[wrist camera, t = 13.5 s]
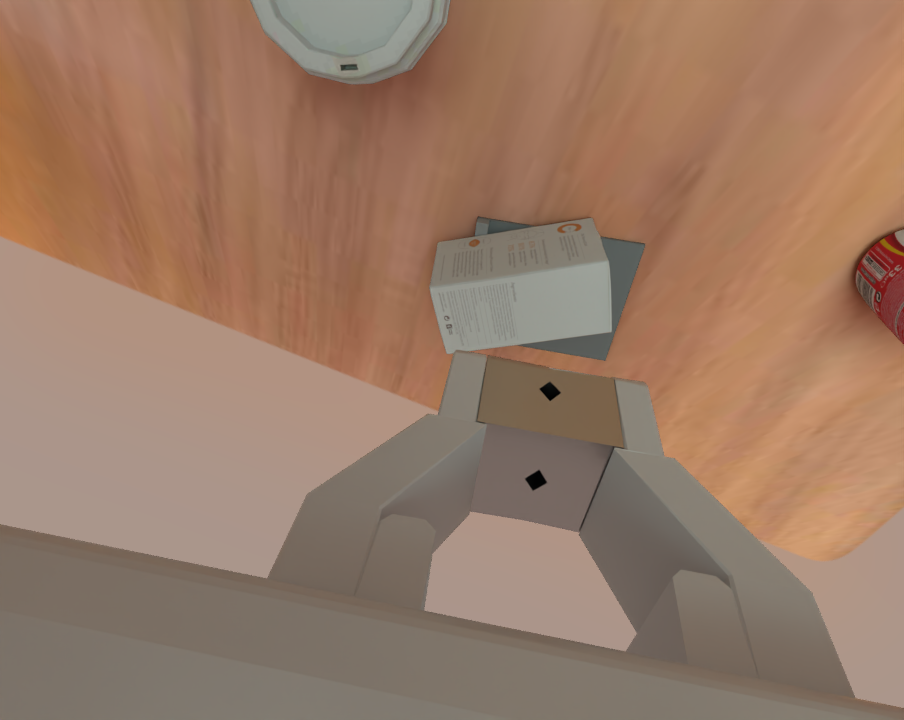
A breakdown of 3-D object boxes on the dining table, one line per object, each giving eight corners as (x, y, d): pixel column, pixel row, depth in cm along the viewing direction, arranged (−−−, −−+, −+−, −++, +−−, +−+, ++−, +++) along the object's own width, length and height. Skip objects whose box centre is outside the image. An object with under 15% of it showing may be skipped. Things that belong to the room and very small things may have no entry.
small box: (445, 356, 43) (613, 334, 41) (427, 286, 40) (610, 259, 37) (451, 304, 50) (597, 283, 48) (436, 240, 46) (593, 214, 44)
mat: (461, 333, 53) (459, 340, 52) (478, 216, 46) (476, 222, 45) (604, 358, 52) (606, 366, 51) (644, 243, 45) (646, 249, 44)
